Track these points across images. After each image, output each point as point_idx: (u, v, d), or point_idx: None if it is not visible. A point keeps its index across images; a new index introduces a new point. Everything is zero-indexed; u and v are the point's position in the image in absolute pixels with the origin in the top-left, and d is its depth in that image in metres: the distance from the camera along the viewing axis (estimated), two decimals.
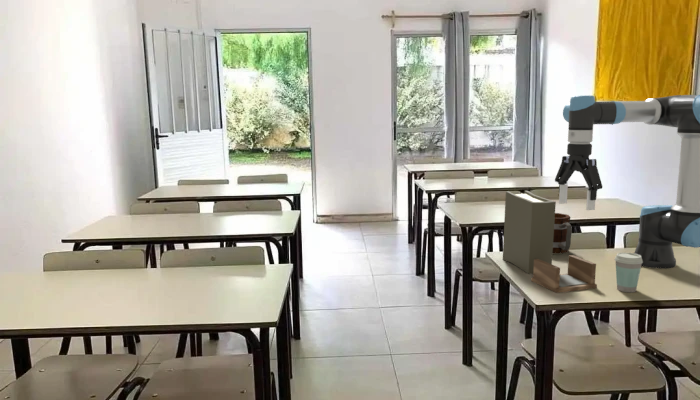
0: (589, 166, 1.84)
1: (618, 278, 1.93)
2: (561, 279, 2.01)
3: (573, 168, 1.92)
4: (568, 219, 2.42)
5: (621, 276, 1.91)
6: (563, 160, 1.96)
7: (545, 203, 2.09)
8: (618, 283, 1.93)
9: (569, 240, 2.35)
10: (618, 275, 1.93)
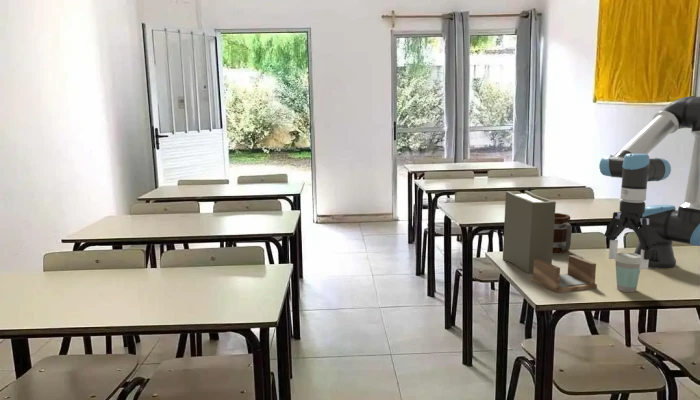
0: (643, 225, 1.84)
1: (618, 278, 1.93)
2: (561, 279, 2.01)
3: (625, 225, 1.91)
4: (568, 219, 2.42)
5: (621, 276, 1.91)
6: (614, 216, 1.96)
7: (545, 203, 2.09)
8: (618, 283, 1.93)
9: (569, 240, 2.35)
10: (618, 275, 1.93)
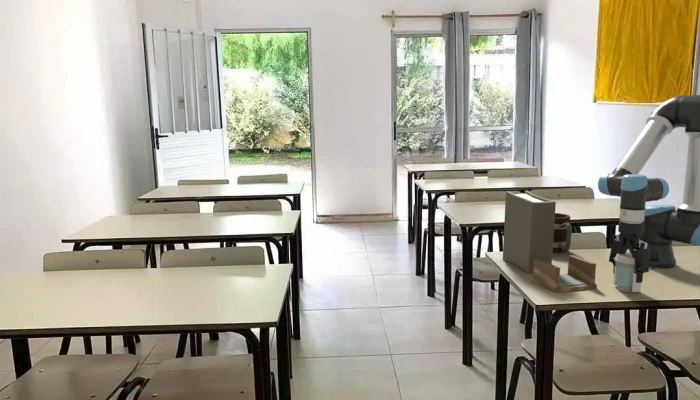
0: (640, 249, 1.86)
1: (618, 278, 1.93)
2: (561, 279, 2.01)
3: (624, 245, 1.93)
4: (568, 219, 2.42)
5: (622, 276, 1.91)
6: (614, 239, 1.97)
7: (545, 203, 2.09)
8: (618, 283, 1.93)
9: (569, 240, 2.35)
10: (618, 275, 1.93)
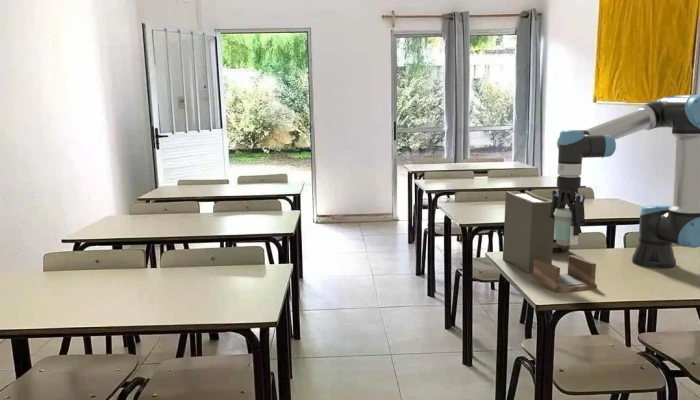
0: (576, 202, 1.90)
1: (557, 232, 1.97)
2: (561, 279, 2.01)
3: (563, 200, 1.97)
4: None
5: (560, 230, 1.95)
6: (553, 194, 2.01)
7: (545, 203, 2.09)
8: (557, 237, 1.97)
9: None
10: (556, 229, 1.97)
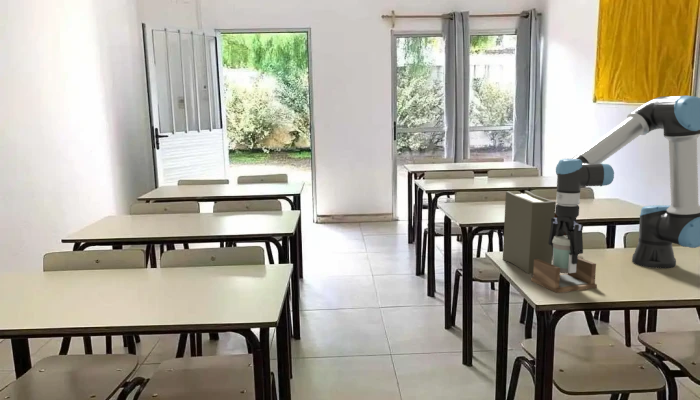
0: (575, 231, 1.91)
1: (555, 260, 1.99)
2: (561, 279, 2.01)
3: (561, 228, 1.98)
4: None
5: (558, 258, 1.97)
6: (552, 222, 2.02)
7: (545, 203, 2.09)
8: (555, 264, 1.99)
9: None
10: (555, 257, 1.98)
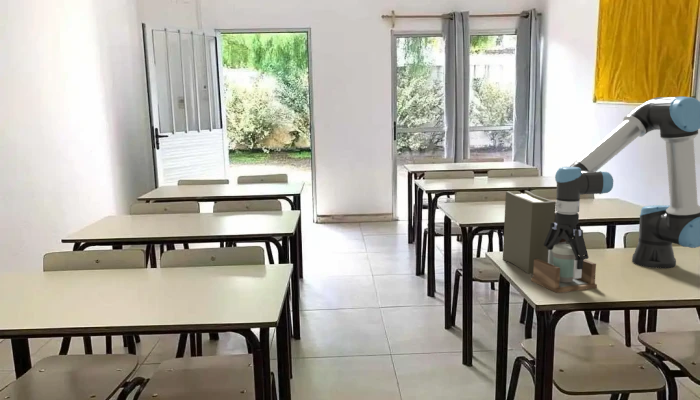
0: (576, 237, 1.91)
1: None
2: None
3: (561, 236, 1.99)
4: None
5: None
6: (551, 227, 2.03)
7: (545, 203, 2.09)
8: None
9: None
10: None
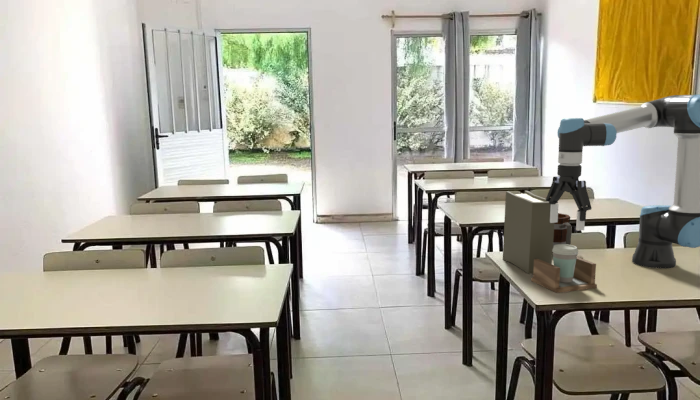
0: (578, 187, 1.89)
1: None
2: None
3: (563, 189, 1.96)
4: (568, 219, 2.42)
5: None
6: (554, 180, 2.00)
7: (545, 203, 2.09)
8: None
9: (569, 240, 2.35)
10: None
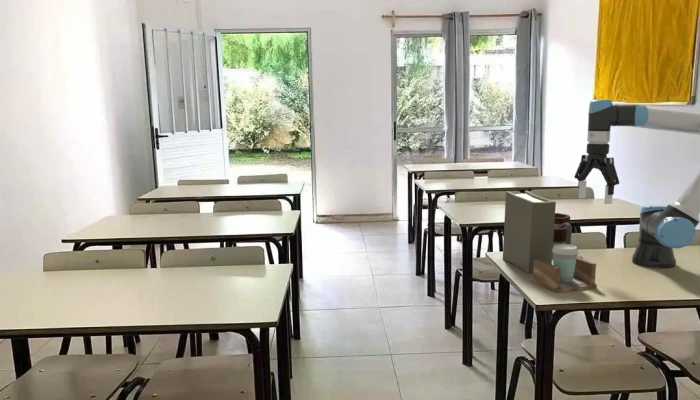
0: (607, 164, 2.03)
1: None
2: None
3: (592, 166, 2.10)
4: (568, 219, 2.42)
5: None
6: (582, 158, 2.15)
7: (545, 203, 2.09)
8: None
9: (569, 240, 2.35)
10: None
